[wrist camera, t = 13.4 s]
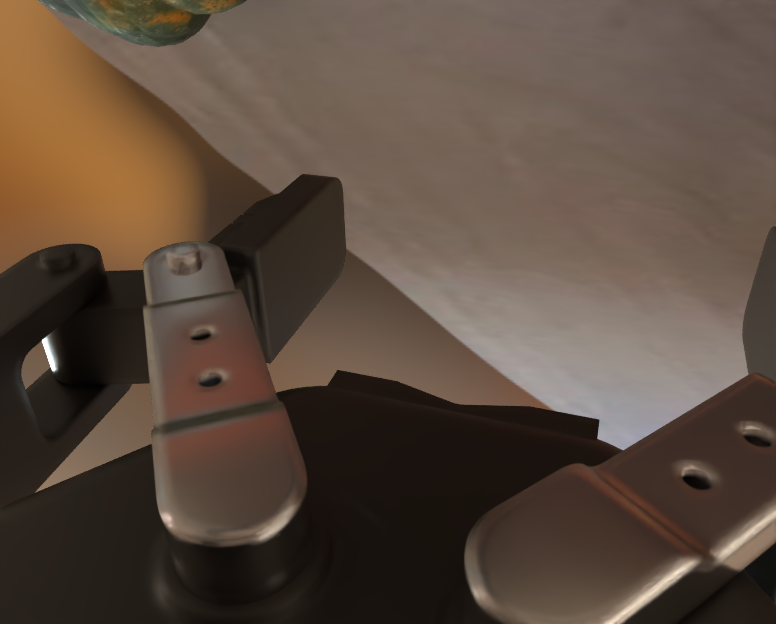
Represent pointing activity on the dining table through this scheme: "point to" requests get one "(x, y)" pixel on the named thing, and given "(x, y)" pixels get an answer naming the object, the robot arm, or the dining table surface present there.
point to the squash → (145, 17)
